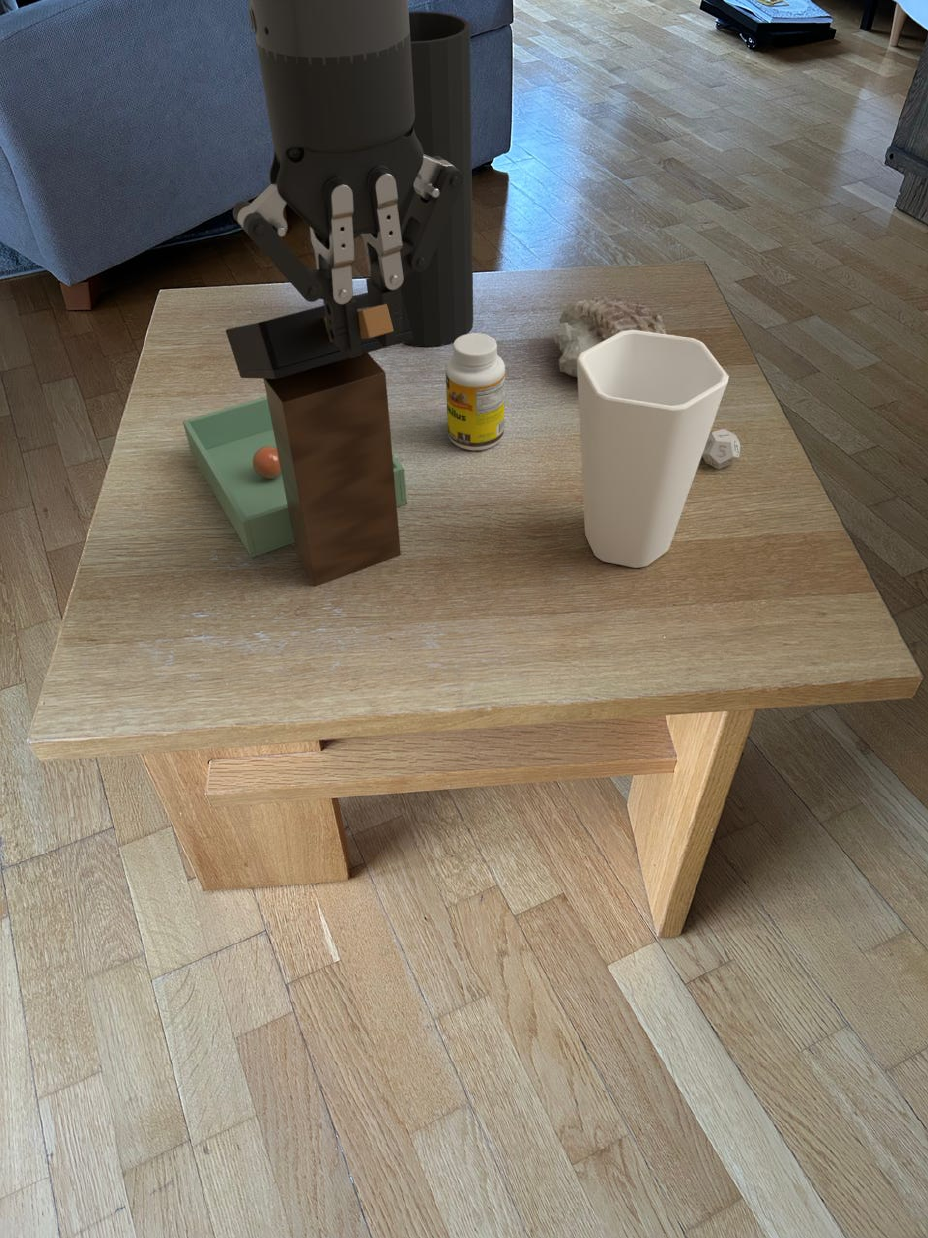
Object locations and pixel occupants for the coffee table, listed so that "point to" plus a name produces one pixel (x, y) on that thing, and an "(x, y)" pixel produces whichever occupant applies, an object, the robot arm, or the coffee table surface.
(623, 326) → the seashell
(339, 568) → the block
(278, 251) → the robot arm
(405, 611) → the coffee table surface
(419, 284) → the vase
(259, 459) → the terracotta ball
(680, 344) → the cup
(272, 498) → the tray
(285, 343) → the pan
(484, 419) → the supplement bottle
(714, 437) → the game die
